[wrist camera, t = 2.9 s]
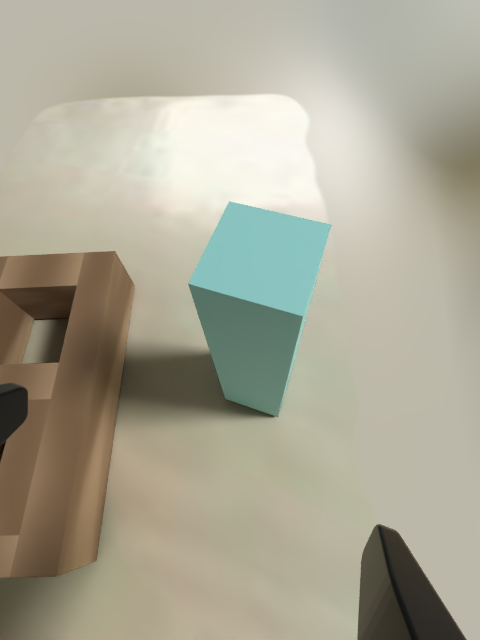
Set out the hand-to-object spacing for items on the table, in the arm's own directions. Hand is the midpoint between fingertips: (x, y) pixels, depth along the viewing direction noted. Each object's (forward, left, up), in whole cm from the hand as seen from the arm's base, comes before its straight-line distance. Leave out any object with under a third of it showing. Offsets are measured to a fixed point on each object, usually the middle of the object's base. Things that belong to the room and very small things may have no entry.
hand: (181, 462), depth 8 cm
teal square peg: (+6, +2, -12) cm, 14 cm away
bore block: (-4, +11, -12) cm, 18 cm away
